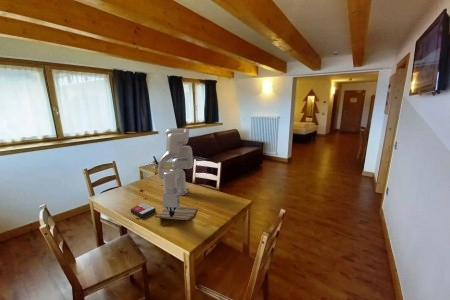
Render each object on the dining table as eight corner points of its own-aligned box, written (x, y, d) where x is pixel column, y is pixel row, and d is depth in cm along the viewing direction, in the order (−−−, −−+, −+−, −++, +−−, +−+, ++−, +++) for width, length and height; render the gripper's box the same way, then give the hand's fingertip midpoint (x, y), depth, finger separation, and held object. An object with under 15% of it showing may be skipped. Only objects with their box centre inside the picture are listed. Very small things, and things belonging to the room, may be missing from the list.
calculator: (143, 202, 162) (155, 207, 153) (144, 207, 163) (156, 212, 154) (129, 208, 153) (141, 213, 144) (130, 213, 154) (142, 219, 145)
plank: (160, 216, 148) (160, 214, 148) (191, 218, 145) (191, 216, 146) (154, 217, 139) (155, 215, 139) (187, 219, 136) (187, 218, 137)
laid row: (166, 207, 161) (166, 205, 161) (197, 209, 158) (197, 207, 158) (159, 215, 149) (159, 214, 149) (192, 218, 146) (192, 216, 146)
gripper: (183, 188, 138) (184, 213, 142) (161, 187, 140) (163, 212, 144) (179, 193, 131) (181, 219, 135) (156, 191, 133) (158, 218, 137)
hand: (172, 215), depth 140 cm, fingers closed
